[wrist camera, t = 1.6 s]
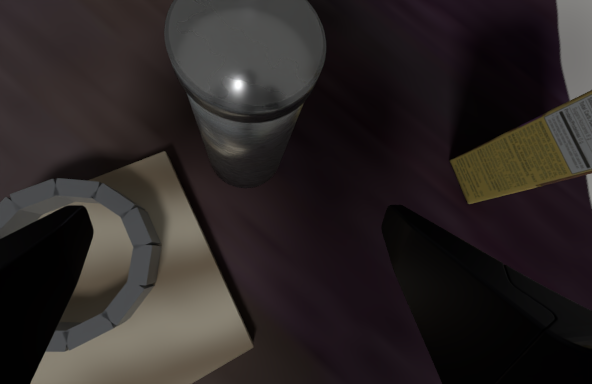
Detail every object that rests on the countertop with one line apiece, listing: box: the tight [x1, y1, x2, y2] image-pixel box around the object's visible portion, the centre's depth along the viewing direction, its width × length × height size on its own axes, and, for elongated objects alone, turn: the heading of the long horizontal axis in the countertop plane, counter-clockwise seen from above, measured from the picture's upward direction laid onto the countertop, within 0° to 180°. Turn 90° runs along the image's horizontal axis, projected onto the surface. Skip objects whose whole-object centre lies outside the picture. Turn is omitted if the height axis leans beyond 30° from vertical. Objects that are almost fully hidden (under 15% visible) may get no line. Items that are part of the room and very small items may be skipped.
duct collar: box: [0, 178, 161, 352], centre depth 17 cm, size 9×9×2 cm
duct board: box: [30, 151, 254, 384], centre depth 18 cm, size 14×14×1 cm
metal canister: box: [164, 0, 326, 188], centre depth 16 cm, size 6×6×12 cm
